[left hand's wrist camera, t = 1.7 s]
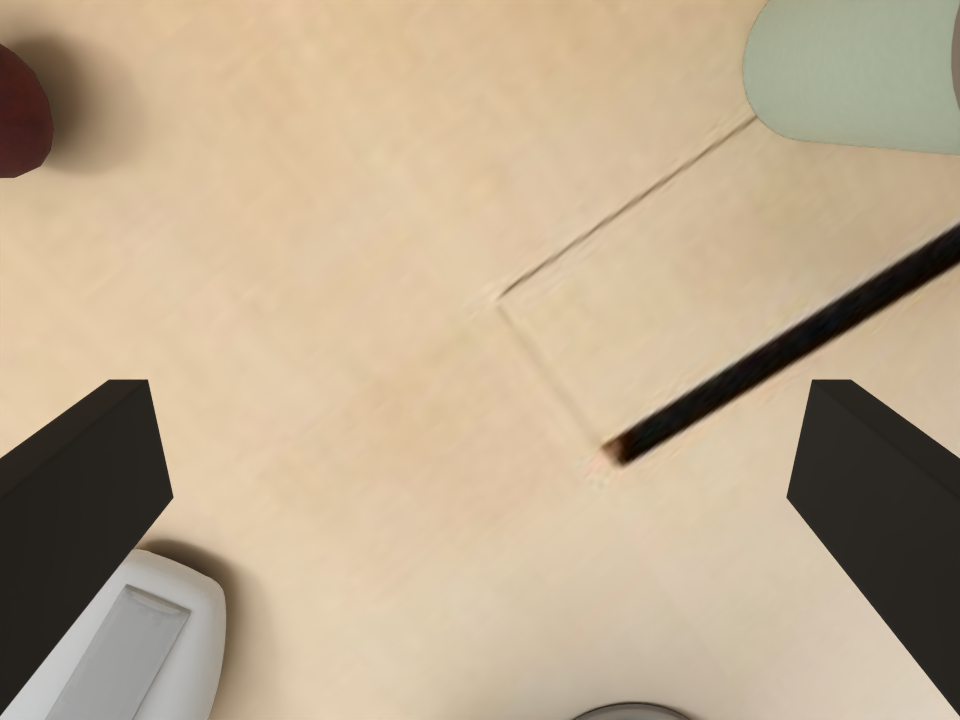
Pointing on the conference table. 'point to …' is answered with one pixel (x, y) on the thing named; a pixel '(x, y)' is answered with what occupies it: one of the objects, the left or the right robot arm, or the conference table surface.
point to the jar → (856, 73)
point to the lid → (956, 57)
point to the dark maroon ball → (22, 118)
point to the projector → (135, 650)
